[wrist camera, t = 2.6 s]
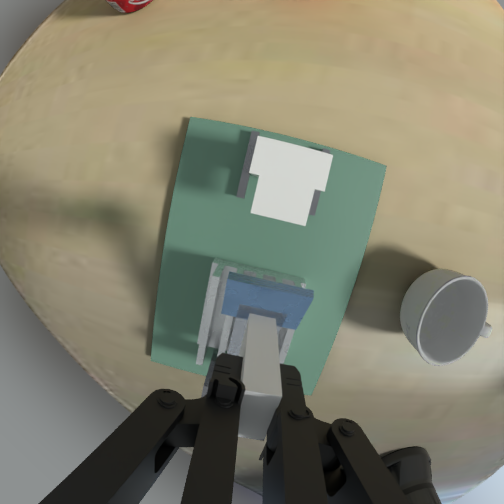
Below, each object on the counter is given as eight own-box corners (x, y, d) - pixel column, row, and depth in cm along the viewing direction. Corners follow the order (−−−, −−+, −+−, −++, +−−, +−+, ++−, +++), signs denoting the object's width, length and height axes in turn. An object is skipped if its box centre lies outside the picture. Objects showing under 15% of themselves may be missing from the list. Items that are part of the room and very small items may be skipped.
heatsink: (274, 367, 37) (276, 414, 28) (198, 350, 37) (182, 394, 28) (333, 154, 31) (358, 145, 22) (244, 132, 30) (237, 113, 22)
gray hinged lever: (255, 391, 30) (253, 402, 29) (210, 381, 30) (207, 392, 29) (313, 285, 17) (313, 303, 16) (230, 266, 17) (225, 284, 16)
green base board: (310, 391, 38) (311, 395, 37) (153, 356, 37) (150, 360, 36) (383, 166, 31) (386, 165, 30) (192, 118, 30) (190, 116, 29)
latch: (301, 216, 31) (315, 228, 23) (246, 203, 31) (240, 210, 23) (315, 161, 30) (333, 155, 22) (259, 148, 30) (257, 135, 22)
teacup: (375, 318, 35) (399, 349, 27) (420, 244, 32) (456, 260, 25) (439, 352, 36) (465, 381, 28) (479, 290, 34) (511, 310, 26)
